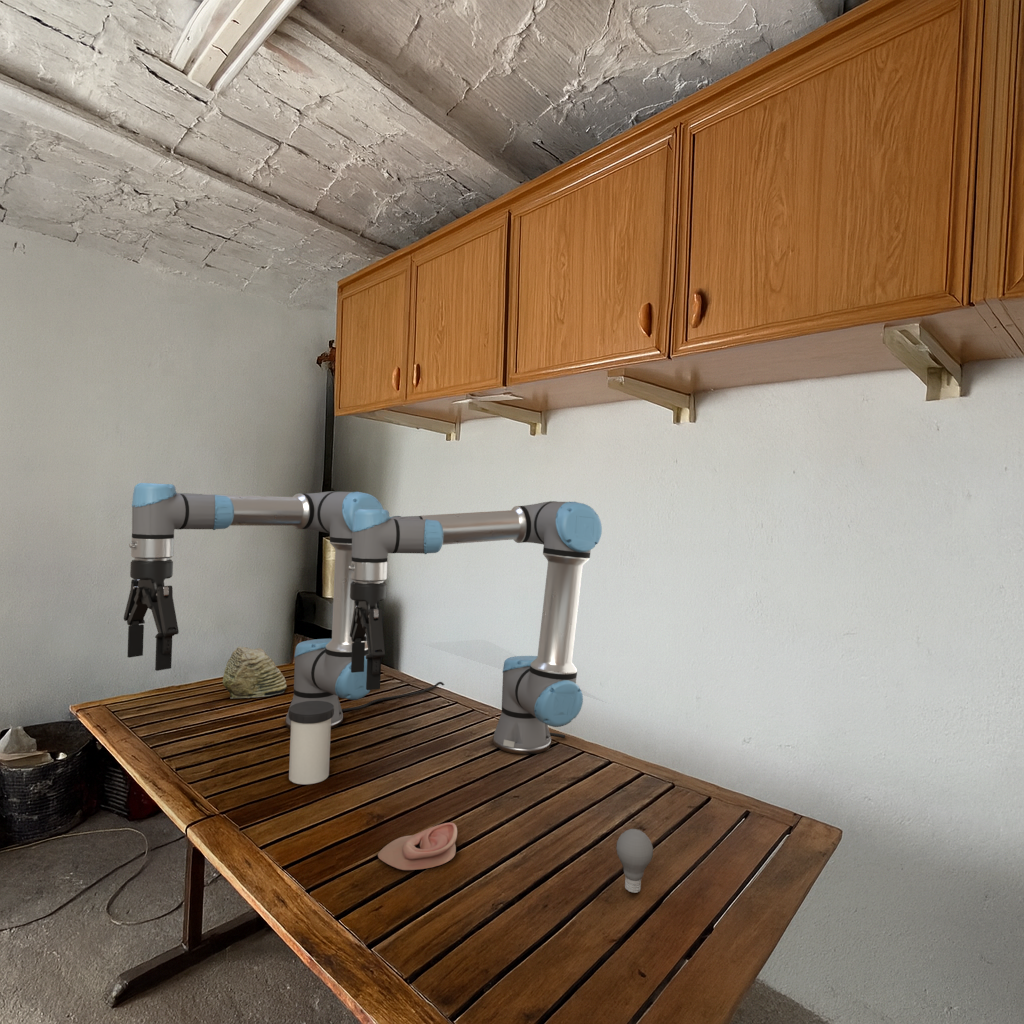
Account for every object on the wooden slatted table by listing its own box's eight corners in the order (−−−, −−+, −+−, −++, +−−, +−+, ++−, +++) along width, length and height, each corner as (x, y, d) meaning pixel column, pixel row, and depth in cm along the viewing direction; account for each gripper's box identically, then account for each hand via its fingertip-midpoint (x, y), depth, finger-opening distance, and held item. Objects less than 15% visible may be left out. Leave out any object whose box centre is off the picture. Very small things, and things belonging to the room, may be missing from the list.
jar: (280, 780, 141) (283, 712, 140) (305, 765, 149) (308, 701, 149) (312, 787, 138) (315, 718, 138) (336, 772, 146) (339, 706, 146)
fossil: (218, 695, 195) (220, 647, 195) (278, 685, 208) (279, 640, 207) (228, 703, 189) (230, 653, 188) (289, 692, 201) (290, 645, 201)
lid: (279, 719, 140) (279, 710, 140) (307, 706, 149) (307, 698, 149) (315, 726, 137) (315, 717, 137) (342, 712, 146) (342, 704, 146)
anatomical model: (371, 842, 110) (396, 811, 121) (370, 865, 110) (395, 831, 121) (444, 854, 107) (463, 821, 118) (443, 877, 107) (462, 842, 118)
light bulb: (610, 879, 108) (613, 822, 108) (644, 879, 109) (647, 822, 109) (619, 902, 102) (622, 840, 102) (655, 901, 103) (658, 840, 103)
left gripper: (108, 554, 134) (104, 654, 134) (159, 565, 118) (155, 678, 119) (146, 552, 140) (143, 648, 140) (199, 563, 124) (195, 671, 124)
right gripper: (338, 574, 144) (335, 666, 145) (365, 590, 122) (361, 699, 123) (371, 573, 148) (367, 664, 148) (403, 589, 126) (399, 695, 126)
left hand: (148, 662), depth 129 cm, fingers open, 13 cm apart
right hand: (364, 680), depth 135 cm, fingers open, 13 cm apart
